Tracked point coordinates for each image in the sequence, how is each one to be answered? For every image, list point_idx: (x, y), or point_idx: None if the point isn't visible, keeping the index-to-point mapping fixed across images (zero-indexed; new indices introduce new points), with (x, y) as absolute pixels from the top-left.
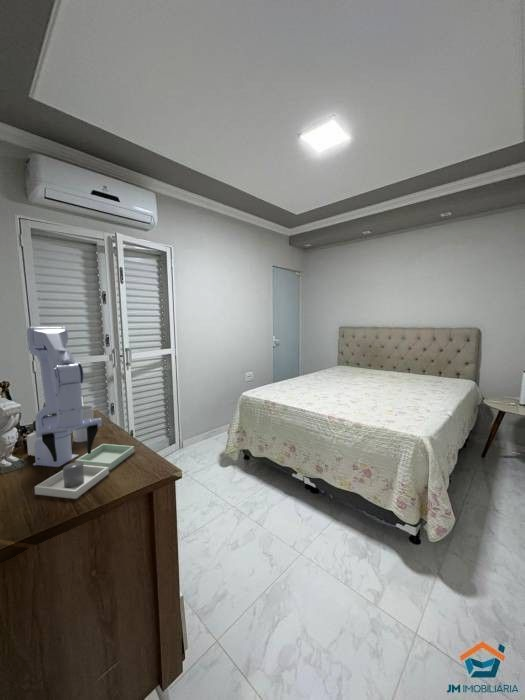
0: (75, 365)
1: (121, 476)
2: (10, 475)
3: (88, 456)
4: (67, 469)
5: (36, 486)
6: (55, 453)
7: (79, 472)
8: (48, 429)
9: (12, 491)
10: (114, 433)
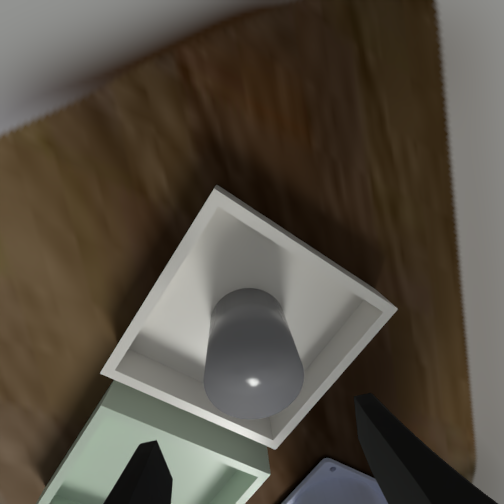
0: None
1: (55, 318)
2: (463, 452)
3: (226, 497)
4: (278, 351)
5: (390, 308)
6: (395, 451)
7: (218, 333)
8: None
9: (448, 351)
10: None
